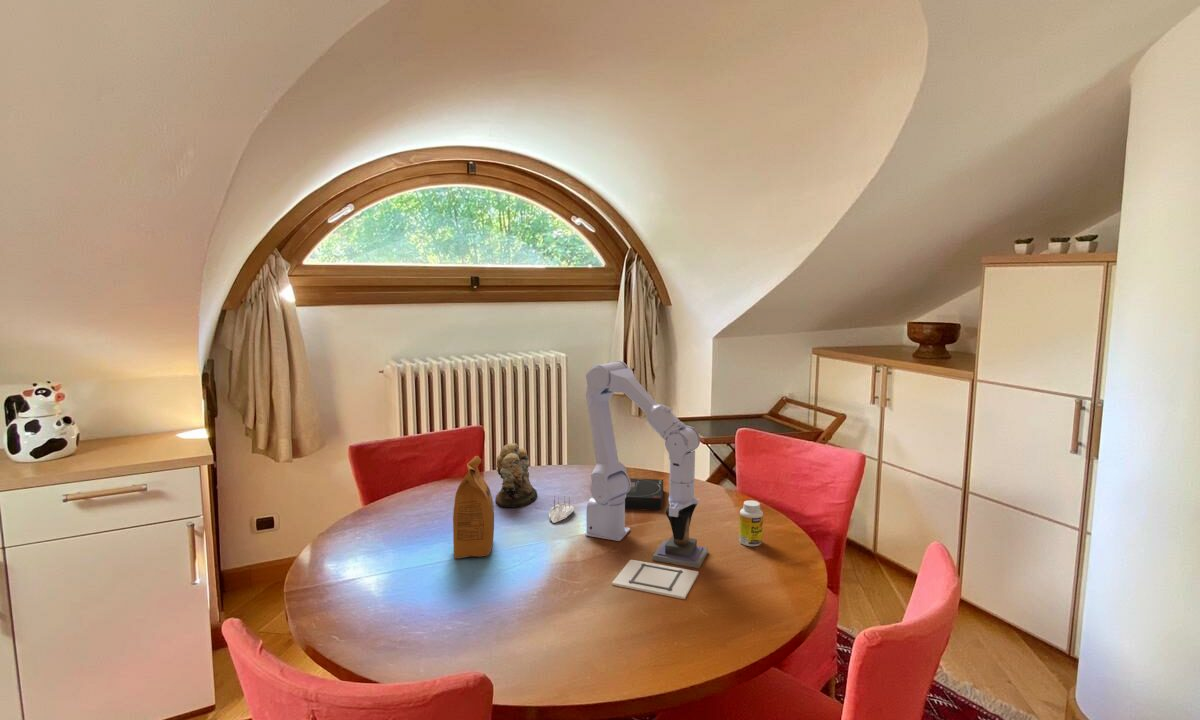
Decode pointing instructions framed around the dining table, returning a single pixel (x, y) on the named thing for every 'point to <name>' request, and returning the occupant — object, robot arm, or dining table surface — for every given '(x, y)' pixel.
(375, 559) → the dining table surface
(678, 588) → the marked board
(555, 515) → the pincushion
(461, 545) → the coffee package
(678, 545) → the stamp
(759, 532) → the supplement bottle
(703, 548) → the ink pad
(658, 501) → the portable cd player
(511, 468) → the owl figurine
